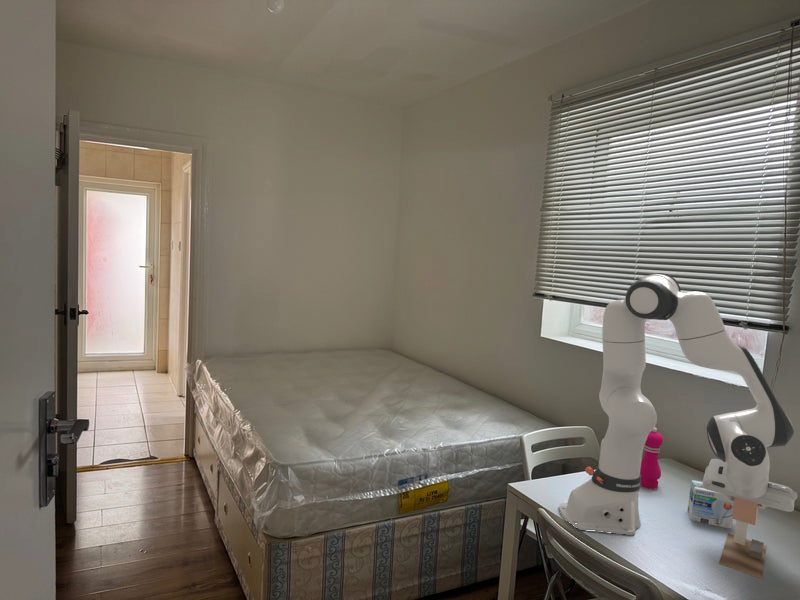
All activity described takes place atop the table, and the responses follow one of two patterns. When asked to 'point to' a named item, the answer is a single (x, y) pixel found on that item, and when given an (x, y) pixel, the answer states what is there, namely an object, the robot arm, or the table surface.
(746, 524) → the post
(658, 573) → the table surface
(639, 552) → the table surface
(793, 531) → the table surface
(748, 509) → the peach rectangular block
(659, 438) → the pepper mill
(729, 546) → the board
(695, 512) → the light bulb box
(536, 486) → the table surface
